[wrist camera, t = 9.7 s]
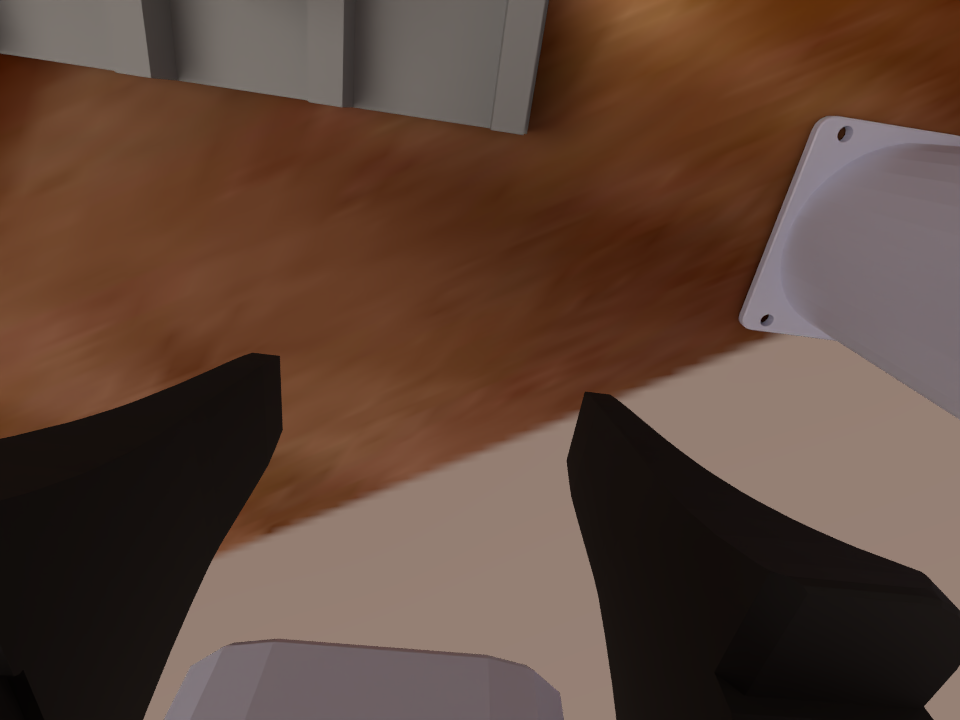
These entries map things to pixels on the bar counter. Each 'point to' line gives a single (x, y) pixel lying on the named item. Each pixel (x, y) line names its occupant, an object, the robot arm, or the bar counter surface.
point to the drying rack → (308, 49)
